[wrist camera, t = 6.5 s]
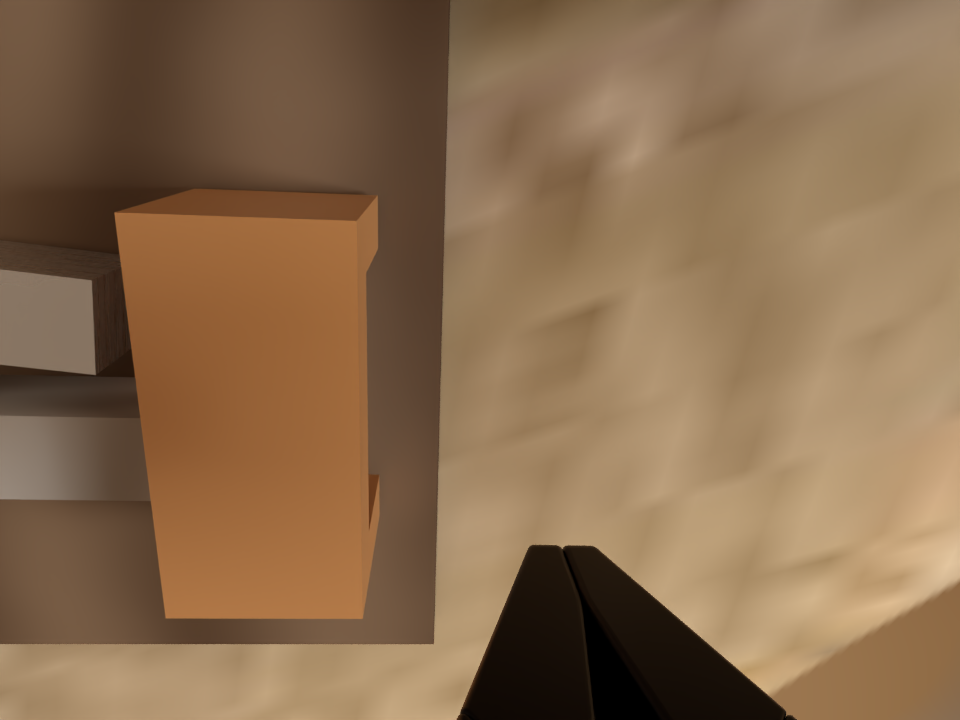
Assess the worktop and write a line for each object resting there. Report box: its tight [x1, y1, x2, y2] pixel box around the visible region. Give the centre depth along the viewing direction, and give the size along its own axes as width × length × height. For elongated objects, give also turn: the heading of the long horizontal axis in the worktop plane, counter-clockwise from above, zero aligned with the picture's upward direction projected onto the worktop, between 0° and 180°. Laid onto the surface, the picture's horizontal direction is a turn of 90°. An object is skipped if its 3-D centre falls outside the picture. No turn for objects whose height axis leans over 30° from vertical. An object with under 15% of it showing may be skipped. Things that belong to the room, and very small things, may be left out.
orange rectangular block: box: [114, 189, 380, 619], centre depth 15 cm, size 4×8×4 cm, turn 178°
